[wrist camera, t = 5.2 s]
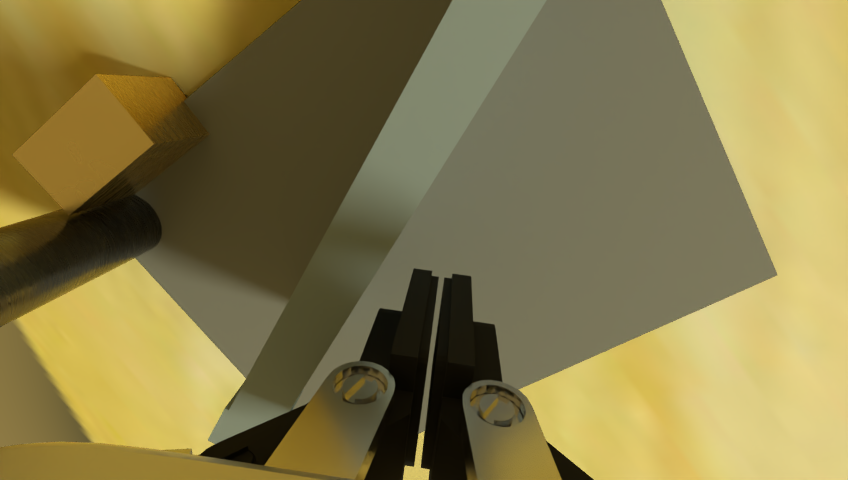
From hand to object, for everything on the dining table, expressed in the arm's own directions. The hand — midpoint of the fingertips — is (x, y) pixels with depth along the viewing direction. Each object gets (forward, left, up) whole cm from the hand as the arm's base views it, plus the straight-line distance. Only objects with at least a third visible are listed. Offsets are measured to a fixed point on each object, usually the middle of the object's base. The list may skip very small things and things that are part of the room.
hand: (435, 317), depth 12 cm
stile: (+7, -9, -4) cm, 12 cm away
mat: (0, -2, -4) cm, 4 cm away
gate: (-1, -4, -3) cm, 5 cm away
